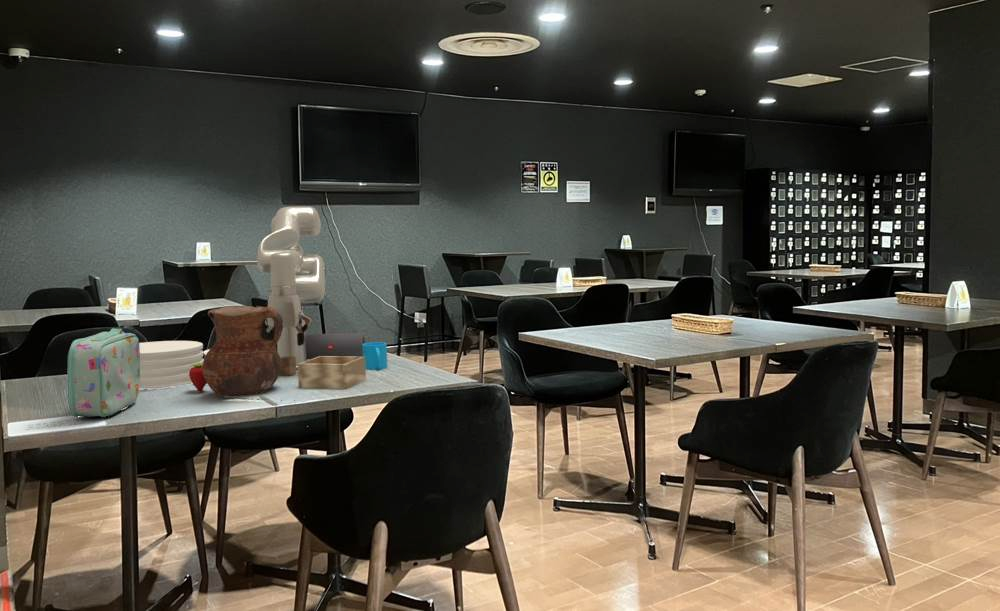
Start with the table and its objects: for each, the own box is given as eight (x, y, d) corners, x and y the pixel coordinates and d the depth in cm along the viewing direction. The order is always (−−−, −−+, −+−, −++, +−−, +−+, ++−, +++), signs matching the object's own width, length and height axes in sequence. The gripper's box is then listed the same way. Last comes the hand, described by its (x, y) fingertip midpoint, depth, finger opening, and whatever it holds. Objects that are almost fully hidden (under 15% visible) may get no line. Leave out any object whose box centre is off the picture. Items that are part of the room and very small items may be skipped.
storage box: (298, 391, 243) (297, 363, 242) (320, 381, 257) (319, 356, 257) (347, 392, 240) (346, 364, 239) (366, 382, 254) (365, 356, 253)
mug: (361, 366, 285) (360, 343, 284) (384, 365, 287) (384, 341, 287) (367, 372, 273) (366, 347, 273) (391, 370, 276) (391, 346, 275)
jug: (214, 404, 225) (209, 313, 223) (195, 393, 243) (190, 307, 241) (293, 394, 238) (289, 307, 235) (270, 384, 255) (266, 302, 253)
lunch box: (107, 401, 233) (102, 325, 231) (145, 400, 234) (141, 324, 232) (64, 423, 206) (58, 337, 205) (107, 422, 207) (102, 336, 205)
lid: (252, 383, 259) (251, 361, 259) (276, 375, 275) (275, 353, 274) (300, 384, 256) (299, 361, 255) (321, 375, 272) (320, 354, 271)
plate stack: (191, 372, 282) (190, 338, 281) (215, 383, 259) (213, 347, 258) (101, 381, 266) (99, 346, 265) (117, 395, 243) (115, 356, 242)
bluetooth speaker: (298, 364, 293) (297, 336, 292) (302, 360, 302) (301, 332, 302) (363, 362, 295) (362, 334, 294) (365, 358, 304) (364, 331, 303)
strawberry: (209, 388, 250) (207, 355, 249) (213, 392, 243) (211, 358, 242) (188, 390, 247) (186, 357, 246) (191, 394, 241) (189, 360, 240)
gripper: (253, 292, 261) (256, 346, 264) (304, 293, 258) (306, 347, 260) (264, 289, 269) (267, 341, 271) (314, 290, 265) (316, 343, 267)
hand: (286, 344), depth 266 cm, fingers open, 9 cm apart
